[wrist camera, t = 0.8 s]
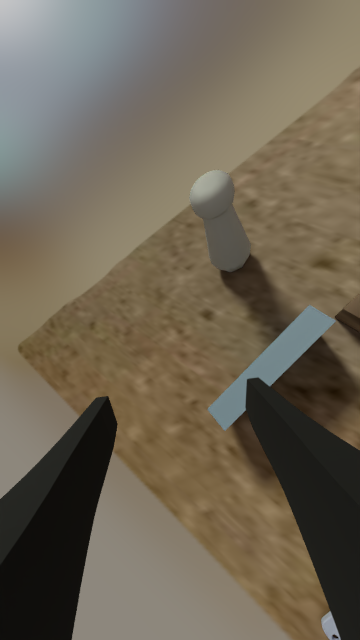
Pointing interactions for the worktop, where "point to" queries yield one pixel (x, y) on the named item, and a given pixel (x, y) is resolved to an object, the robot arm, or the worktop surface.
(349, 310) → the walnut slotted board
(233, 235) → the salt shaker
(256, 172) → the worktop surface
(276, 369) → the slate-blue slotted board
